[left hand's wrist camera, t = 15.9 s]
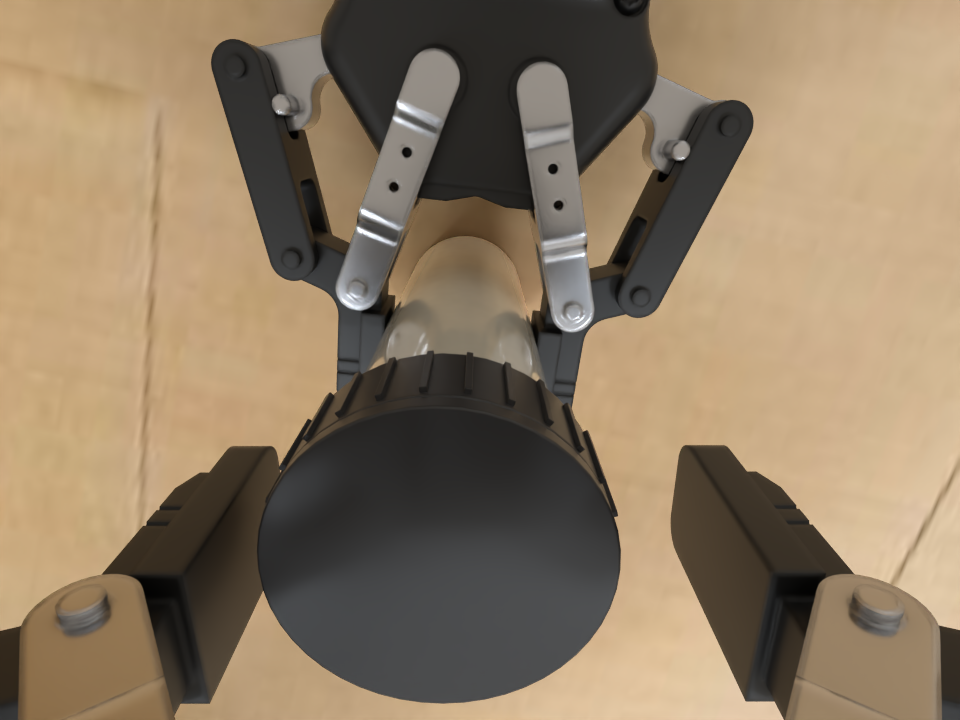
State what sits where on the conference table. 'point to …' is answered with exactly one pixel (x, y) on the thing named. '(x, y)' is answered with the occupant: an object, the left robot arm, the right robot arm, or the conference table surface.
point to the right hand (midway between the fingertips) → (453, 420)
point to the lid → (440, 532)
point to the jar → (463, 309)
